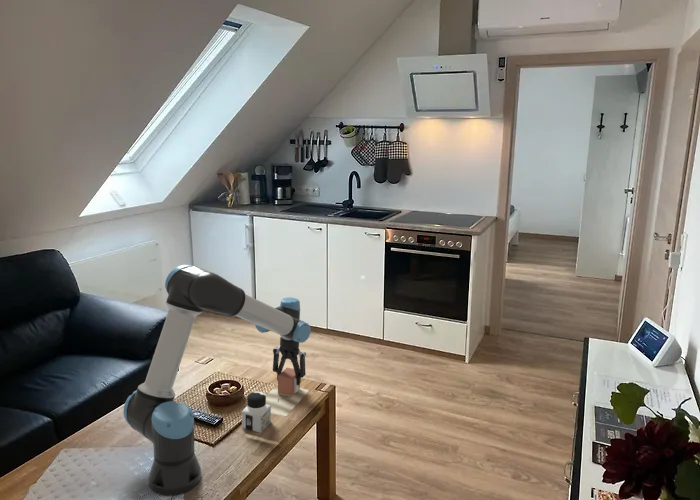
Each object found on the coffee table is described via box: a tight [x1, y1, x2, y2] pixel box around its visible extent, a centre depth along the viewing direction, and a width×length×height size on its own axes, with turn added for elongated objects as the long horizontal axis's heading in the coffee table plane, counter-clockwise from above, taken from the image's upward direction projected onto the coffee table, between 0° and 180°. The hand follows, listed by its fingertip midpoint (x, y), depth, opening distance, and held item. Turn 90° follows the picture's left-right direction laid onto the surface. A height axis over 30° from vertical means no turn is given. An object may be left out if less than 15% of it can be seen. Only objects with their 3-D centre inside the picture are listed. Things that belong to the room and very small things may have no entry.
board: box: [265, 383, 310, 418], centre depth 211 cm, size 22×14×1 cm, turn 161°
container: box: [241, 391, 272, 433], centre depth 192 cm, size 8×8×13 cm
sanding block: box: [277, 367, 301, 397], centre depth 216 cm, size 8×6×8 cm
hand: (288, 389), depth 216 cm, fingers closed on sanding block, 6 cm apart
